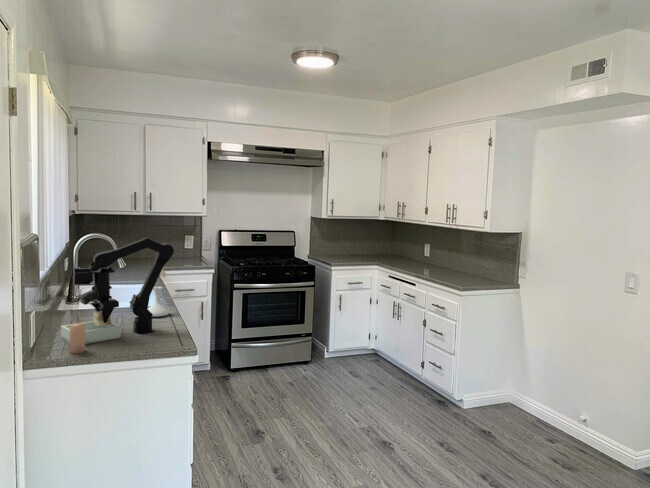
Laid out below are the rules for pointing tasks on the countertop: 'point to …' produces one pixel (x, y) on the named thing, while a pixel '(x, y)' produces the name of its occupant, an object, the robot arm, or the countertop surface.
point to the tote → (94, 332)
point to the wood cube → (100, 319)
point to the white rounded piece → (158, 301)
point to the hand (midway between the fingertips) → (102, 321)
